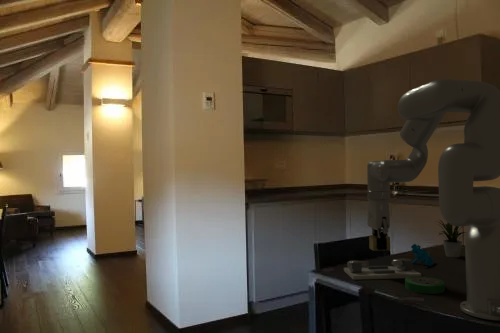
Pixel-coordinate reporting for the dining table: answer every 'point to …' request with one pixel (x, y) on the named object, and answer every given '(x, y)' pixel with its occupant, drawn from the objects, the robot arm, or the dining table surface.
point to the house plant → (451, 240)
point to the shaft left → (357, 265)
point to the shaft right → (402, 264)
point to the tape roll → (424, 285)
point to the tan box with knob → (374, 243)
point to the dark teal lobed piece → (421, 255)
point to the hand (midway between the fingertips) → (379, 247)
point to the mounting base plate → (381, 273)
